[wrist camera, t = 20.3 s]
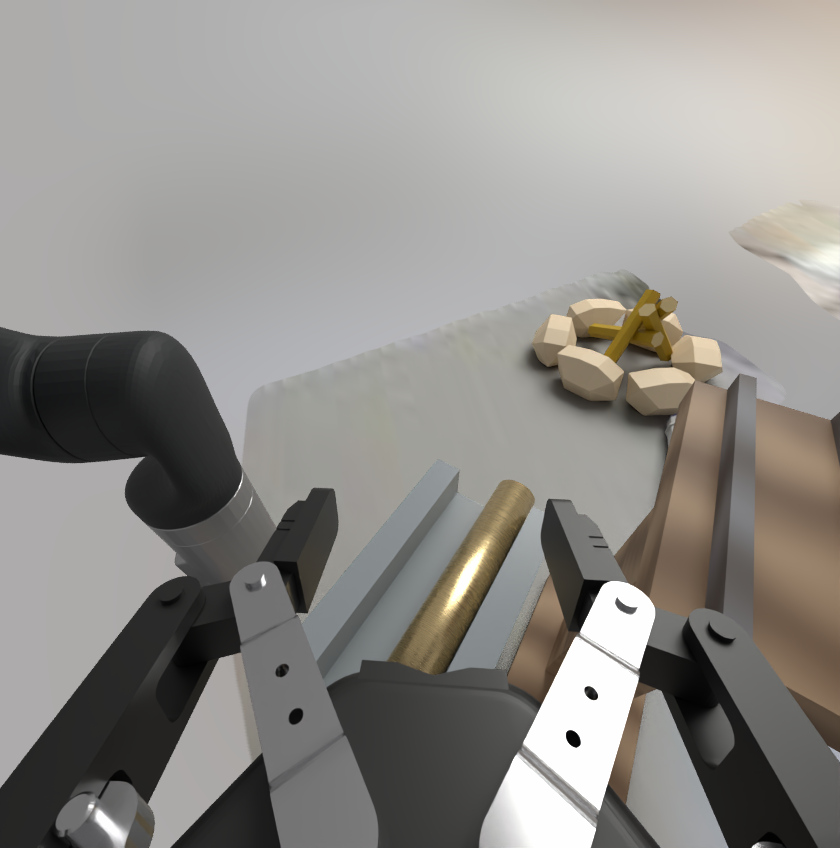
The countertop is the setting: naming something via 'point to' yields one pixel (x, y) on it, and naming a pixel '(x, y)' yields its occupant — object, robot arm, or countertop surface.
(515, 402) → the countertop surface
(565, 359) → the campfire
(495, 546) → the brass rod
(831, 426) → the walnut stand
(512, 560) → the grey cradle
